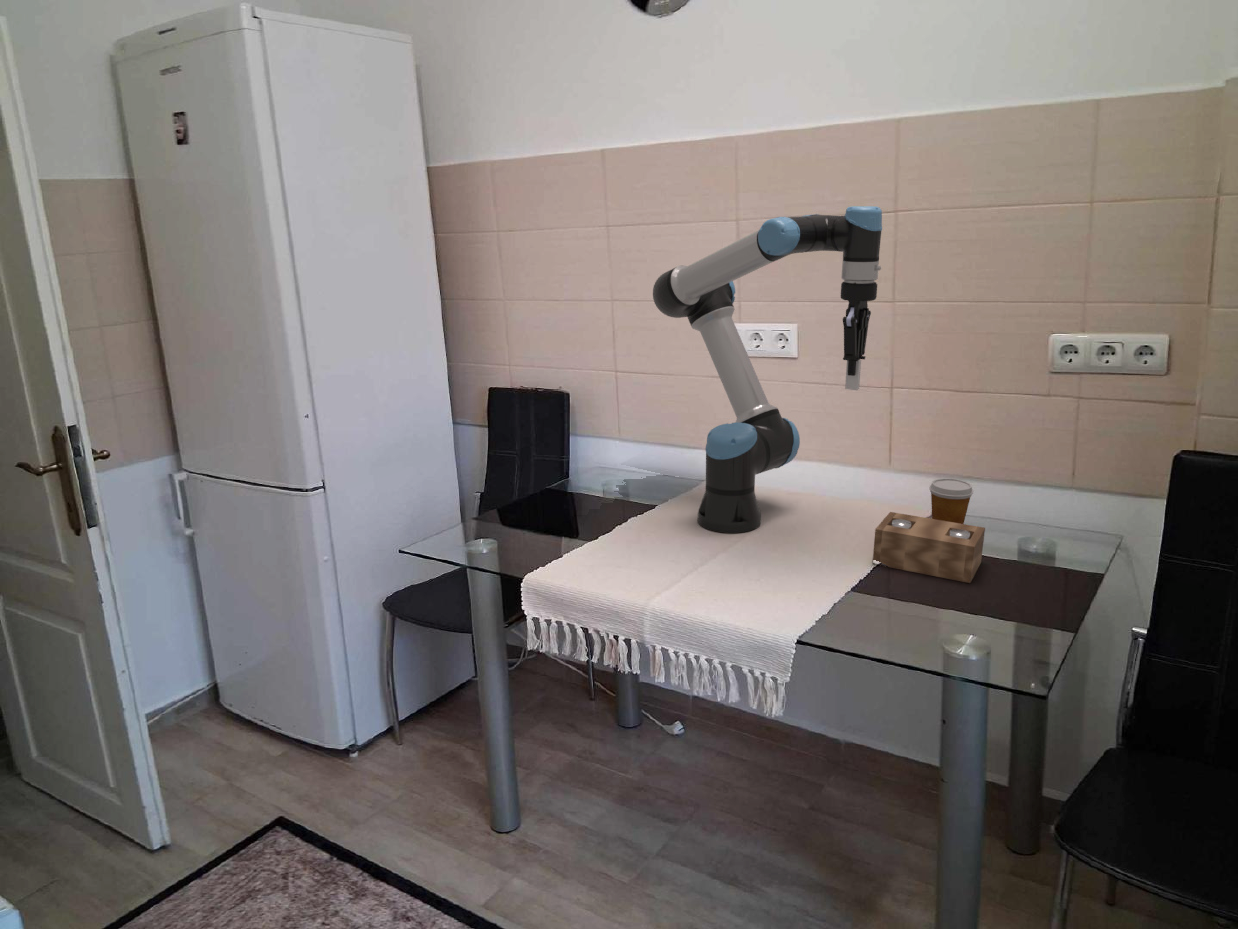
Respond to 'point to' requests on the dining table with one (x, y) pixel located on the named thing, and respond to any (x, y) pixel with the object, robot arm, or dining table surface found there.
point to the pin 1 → (901, 523)
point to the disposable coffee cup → (950, 499)
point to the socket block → (929, 547)
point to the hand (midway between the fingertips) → (852, 388)
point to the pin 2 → (960, 533)
